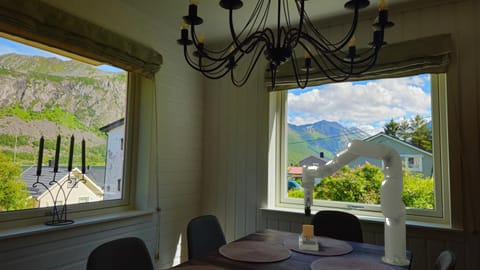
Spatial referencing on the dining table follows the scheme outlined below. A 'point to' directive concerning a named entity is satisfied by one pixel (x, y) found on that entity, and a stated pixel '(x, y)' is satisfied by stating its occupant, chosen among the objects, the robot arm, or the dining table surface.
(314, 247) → the breaker panel
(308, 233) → the breaker lever
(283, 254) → the dining table surface
